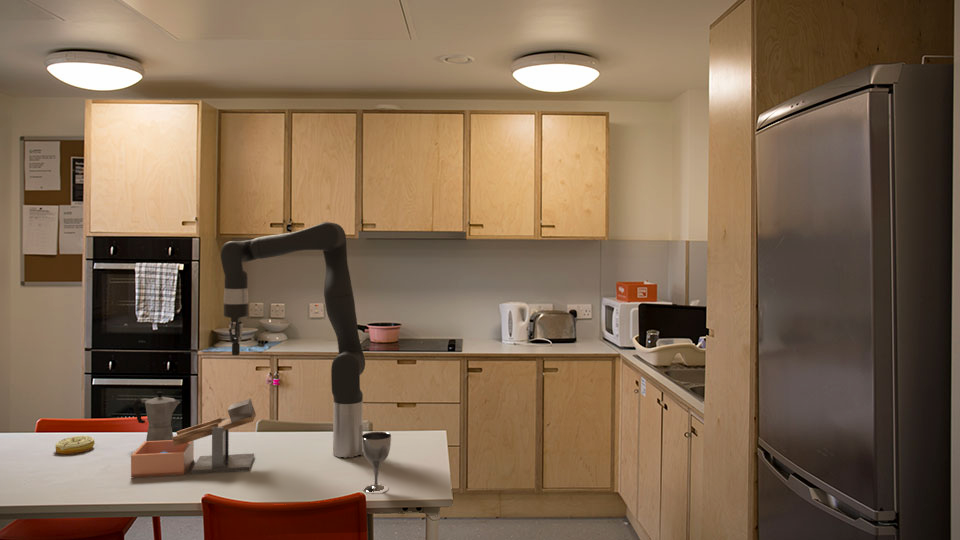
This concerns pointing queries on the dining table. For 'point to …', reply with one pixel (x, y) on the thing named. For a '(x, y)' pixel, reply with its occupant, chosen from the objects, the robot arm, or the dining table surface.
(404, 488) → the dining table surface
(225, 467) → the lever stand
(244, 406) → the lever
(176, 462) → the cup
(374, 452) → the wine glass
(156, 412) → the coffeepot
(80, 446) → the decorated donut
